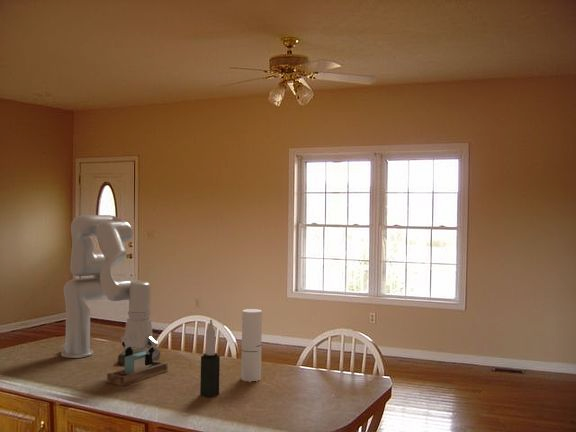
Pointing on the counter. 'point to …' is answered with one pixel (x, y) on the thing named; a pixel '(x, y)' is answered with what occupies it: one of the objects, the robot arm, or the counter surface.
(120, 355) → the marble piece
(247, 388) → the counter surface
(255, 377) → the cylindrical container
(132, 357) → the teal block
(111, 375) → the wooden compartment tray
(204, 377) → the marker pen
